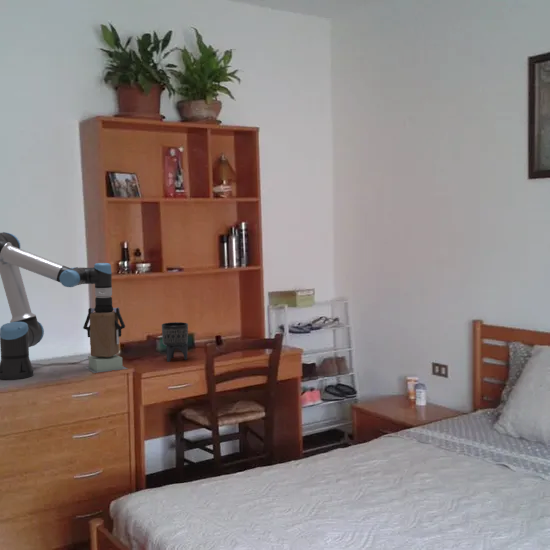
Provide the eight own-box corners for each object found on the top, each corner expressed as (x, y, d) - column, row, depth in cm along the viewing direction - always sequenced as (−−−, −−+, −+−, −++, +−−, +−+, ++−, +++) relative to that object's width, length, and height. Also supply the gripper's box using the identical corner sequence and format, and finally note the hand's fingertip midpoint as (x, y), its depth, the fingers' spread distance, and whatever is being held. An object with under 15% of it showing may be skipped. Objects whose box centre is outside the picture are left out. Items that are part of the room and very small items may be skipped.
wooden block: (110, 357, 304) (109, 313, 303) (90, 356, 306) (88, 313, 305) (119, 353, 314) (118, 310, 312) (99, 352, 316) (98, 310, 314)
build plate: (93, 375, 300) (93, 372, 299) (83, 368, 313) (83, 366, 313) (128, 370, 308) (128, 368, 308) (116, 364, 322) (116, 362, 321)
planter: (177, 363, 324) (176, 326, 323) (156, 360, 331) (156, 324, 330) (193, 358, 335) (193, 323, 334) (173, 356, 342) (173, 321, 341)
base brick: (96, 371, 302) (96, 360, 302) (88, 367, 312) (88, 356, 312) (122, 368, 309) (122, 357, 308) (113, 363, 319) (113, 353, 318)
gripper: (75, 298, 303) (76, 346, 305) (128, 297, 305) (129, 344, 307) (78, 296, 311) (80, 343, 312) (130, 295, 313) (131, 342, 315)
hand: (104, 344), depth 310 cm, fingers closed on wooden block, 11 cm apart
